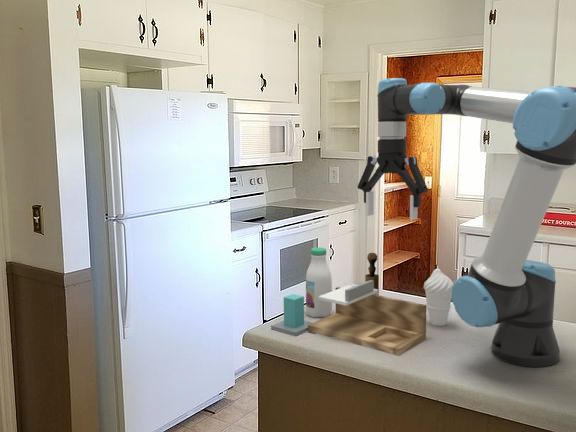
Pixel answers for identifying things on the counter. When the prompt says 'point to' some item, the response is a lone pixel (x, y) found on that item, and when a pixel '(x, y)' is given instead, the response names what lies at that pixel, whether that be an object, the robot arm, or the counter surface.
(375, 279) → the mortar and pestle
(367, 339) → the brown piece
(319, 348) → the counter surface
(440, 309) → the soft serve ice cream cone
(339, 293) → the lid
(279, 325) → the coaster
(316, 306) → the milk bottle
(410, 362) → the counter surface
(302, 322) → the block
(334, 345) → the counter surface
